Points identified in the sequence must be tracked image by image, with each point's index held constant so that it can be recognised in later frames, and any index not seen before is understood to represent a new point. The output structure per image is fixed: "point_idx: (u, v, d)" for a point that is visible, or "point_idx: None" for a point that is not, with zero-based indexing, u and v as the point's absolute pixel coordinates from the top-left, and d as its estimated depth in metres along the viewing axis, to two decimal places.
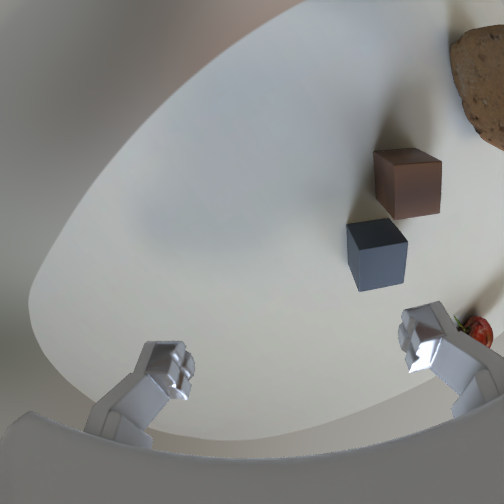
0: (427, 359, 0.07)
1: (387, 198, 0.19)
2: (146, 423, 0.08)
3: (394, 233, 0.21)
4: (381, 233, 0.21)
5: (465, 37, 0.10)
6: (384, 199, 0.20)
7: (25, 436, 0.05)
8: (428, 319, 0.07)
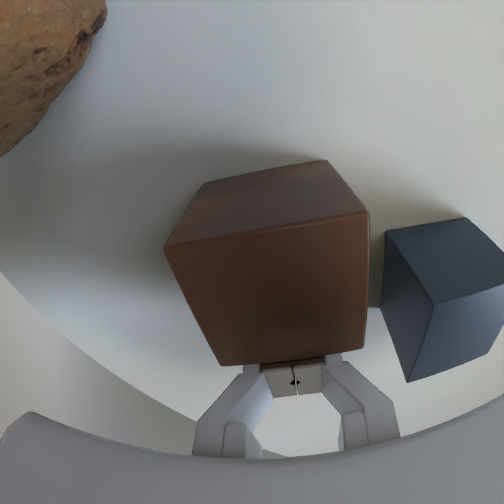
0: (313, 384, 0.08)
1: None
2: (251, 430, 0.07)
3: (411, 289, 0.08)
4: (404, 306, 0.09)
5: None
6: None
7: (25, 436, 0.05)
8: None
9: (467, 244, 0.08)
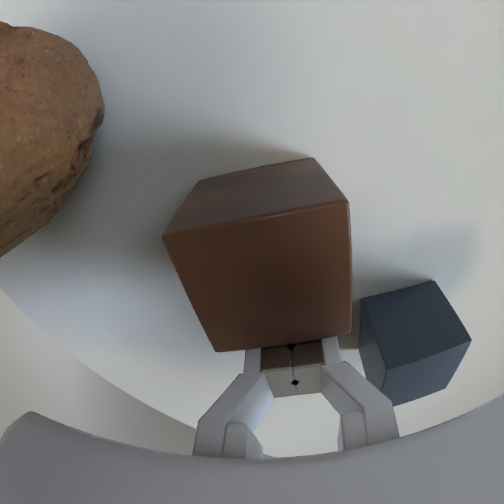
0: (312, 384, 0.08)
1: None
2: (252, 430, 0.07)
3: (375, 350, 0.11)
4: (371, 358, 0.12)
5: None
6: None
7: (25, 436, 0.05)
8: (310, 344, 0.08)
9: (428, 311, 0.11)
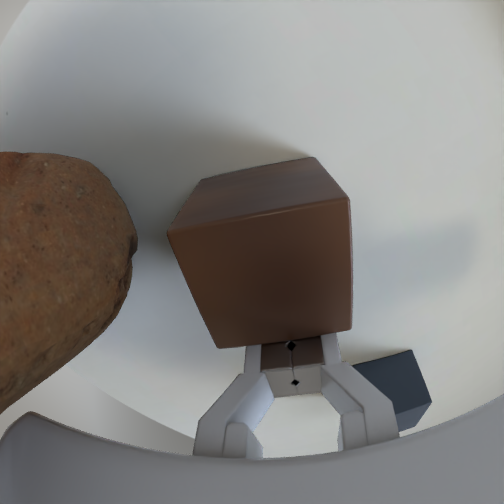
0: (312, 384, 0.08)
1: None
2: (252, 430, 0.07)
3: None
4: None
5: None
6: None
7: (25, 436, 0.05)
8: (310, 344, 0.08)
9: (402, 377, 0.14)
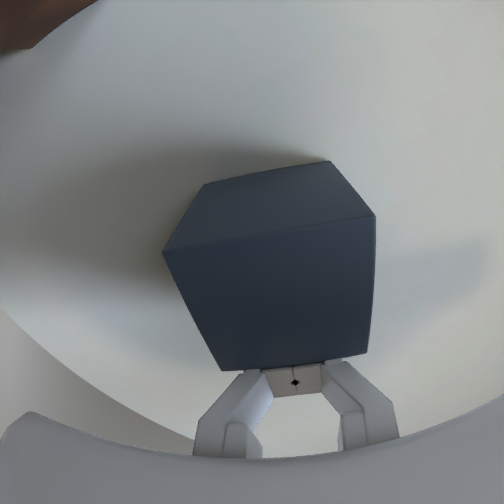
0: (312, 384, 0.08)
1: None
2: (252, 430, 0.07)
3: None
4: None
5: None
6: None
7: (25, 436, 0.05)
8: None
9: (294, 184, 0.07)
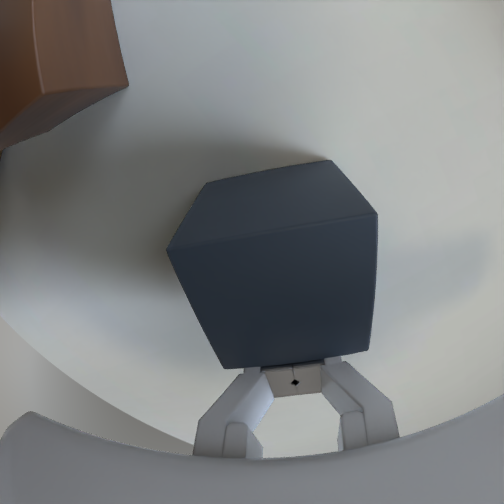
0: (312, 384, 0.08)
1: (53, 107, 0.05)
2: (252, 430, 0.07)
3: None
4: None
5: None
6: (73, 100, 0.06)
7: (25, 436, 0.05)
8: None
9: (296, 183, 0.07)
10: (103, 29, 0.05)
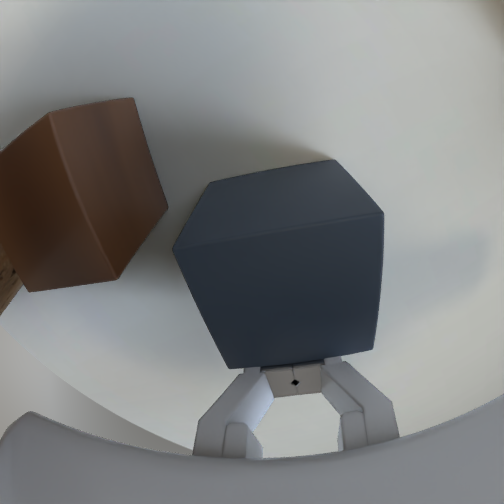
0: (312, 384, 0.08)
1: None
2: (252, 430, 0.07)
3: None
4: None
5: None
6: None
7: (25, 436, 0.05)
8: None
9: (302, 182, 0.07)
10: (138, 158, 0.08)
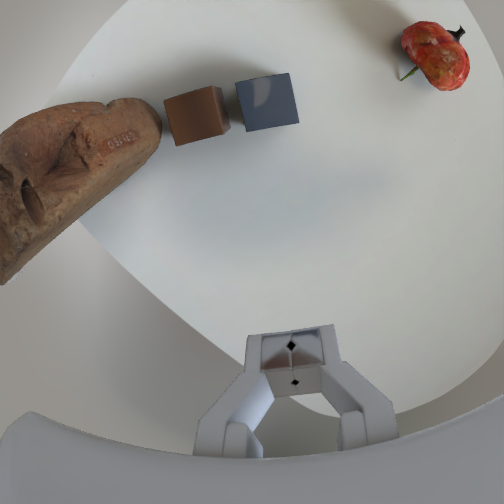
0: (312, 384, 0.08)
1: None
2: (252, 430, 0.07)
3: None
4: None
5: None
6: None
7: (25, 436, 0.05)
8: (310, 344, 0.08)
9: None
10: (224, 107, 0.23)
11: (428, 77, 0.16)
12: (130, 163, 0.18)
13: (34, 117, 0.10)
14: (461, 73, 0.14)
